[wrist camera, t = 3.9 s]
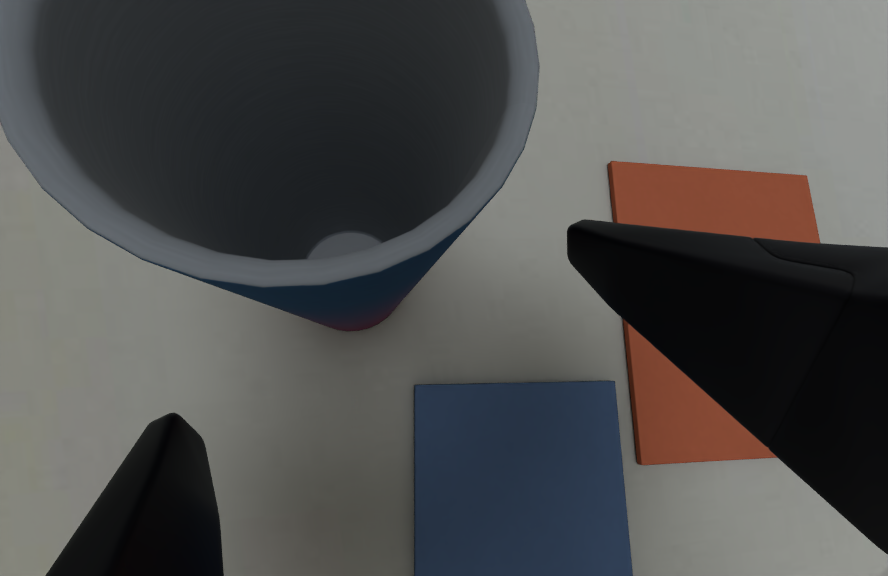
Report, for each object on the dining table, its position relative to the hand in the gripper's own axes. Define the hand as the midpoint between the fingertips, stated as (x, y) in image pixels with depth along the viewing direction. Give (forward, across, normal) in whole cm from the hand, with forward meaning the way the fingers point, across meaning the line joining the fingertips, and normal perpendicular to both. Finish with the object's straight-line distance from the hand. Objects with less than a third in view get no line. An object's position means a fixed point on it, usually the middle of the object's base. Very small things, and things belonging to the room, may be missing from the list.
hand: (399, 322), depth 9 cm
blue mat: (+2, -3, +14) cm, 14 cm away
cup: (+10, 0, +5) cm, 12 cm away
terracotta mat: (+3, -18, +12) cm, 22 cm away
